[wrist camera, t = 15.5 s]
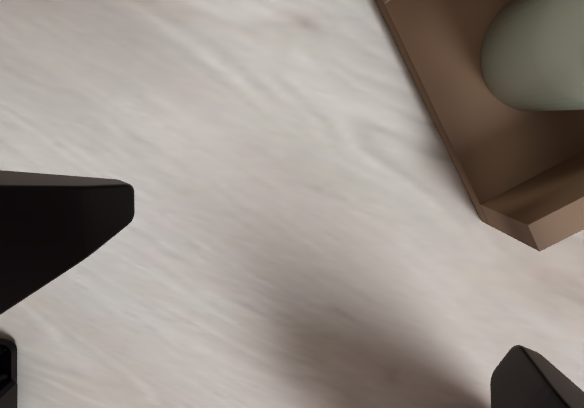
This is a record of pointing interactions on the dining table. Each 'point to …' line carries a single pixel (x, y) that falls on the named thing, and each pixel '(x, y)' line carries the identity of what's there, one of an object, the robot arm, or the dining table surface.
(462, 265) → the dining table surface
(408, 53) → the walnut U-cradle
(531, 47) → the sage glass bottle
